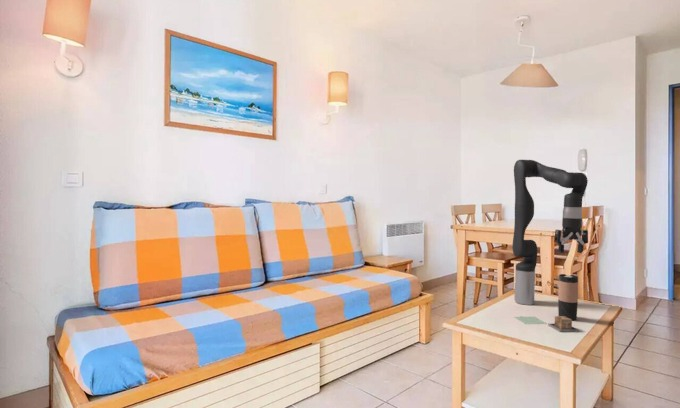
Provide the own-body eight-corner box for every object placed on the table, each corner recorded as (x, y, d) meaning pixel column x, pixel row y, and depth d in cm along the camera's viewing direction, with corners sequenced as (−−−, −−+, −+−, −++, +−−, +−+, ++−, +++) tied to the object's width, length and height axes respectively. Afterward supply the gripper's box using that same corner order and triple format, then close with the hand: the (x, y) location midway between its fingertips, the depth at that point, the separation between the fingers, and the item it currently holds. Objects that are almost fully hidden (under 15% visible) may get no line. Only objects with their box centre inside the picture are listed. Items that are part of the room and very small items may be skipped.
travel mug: (567, 322, 170) (568, 277, 170) (553, 317, 178) (554, 274, 177) (581, 321, 173) (582, 277, 172) (567, 315, 180) (568, 273, 179)
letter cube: (554, 326, 164) (554, 316, 163) (564, 326, 164) (564, 315, 164) (561, 330, 159) (561, 319, 159) (571, 330, 159) (572, 319, 159)
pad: (513, 317, 177) (513, 316, 177) (534, 317, 177) (534, 316, 177) (525, 325, 167) (525, 324, 167) (547, 324, 167) (547, 323, 167)
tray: (548, 326, 165) (548, 323, 165) (565, 326, 166) (565, 323, 166) (560, 332, 157) (560, 330, 157) (578, 332, 158) (578, 329, 158)
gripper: (581, 216, 176) (579, 251, 177) (551, 216, 175) (550, 251, 176) (593, 217, 168) (591, 254, 169) (562, 217, 167) (560, 254, 168)
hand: (570, 252), depth 172 cm, fingers open, 8 cm apart
